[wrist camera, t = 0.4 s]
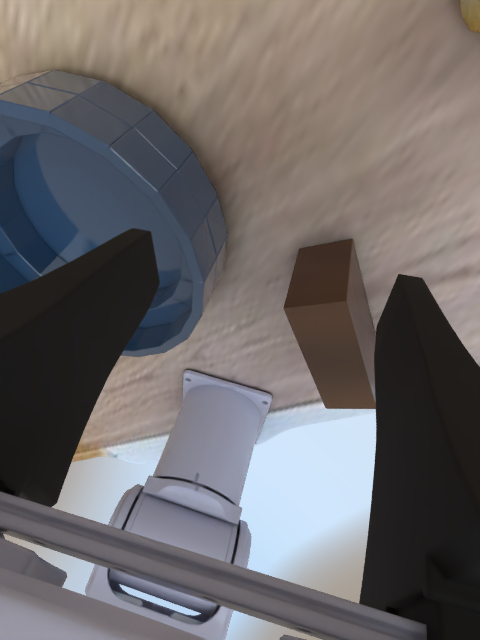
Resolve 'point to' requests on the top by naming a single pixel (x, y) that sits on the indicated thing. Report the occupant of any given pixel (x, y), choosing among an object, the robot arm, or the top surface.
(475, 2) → the pastry
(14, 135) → the bowl
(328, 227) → the top surface
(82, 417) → the robot arm
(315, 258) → the bar
